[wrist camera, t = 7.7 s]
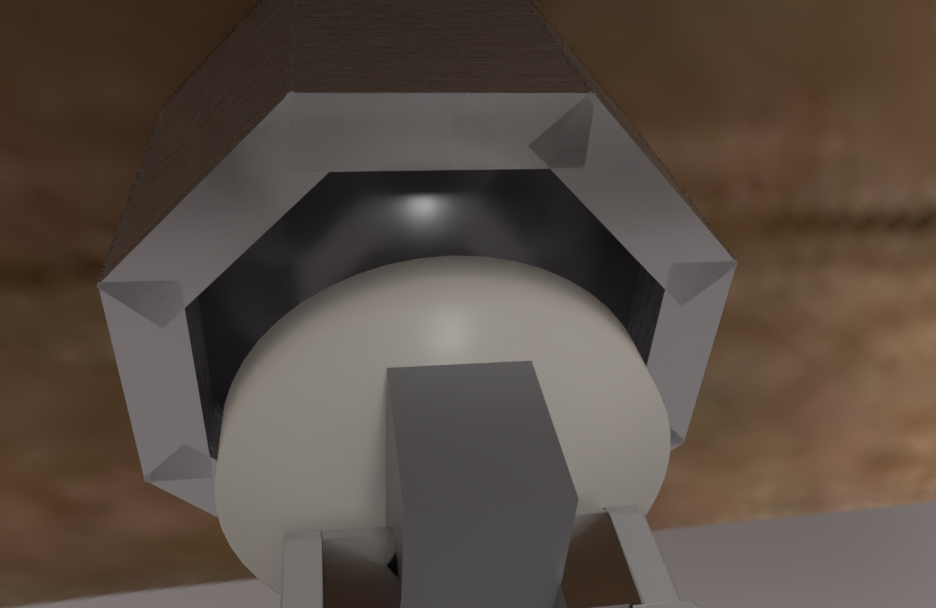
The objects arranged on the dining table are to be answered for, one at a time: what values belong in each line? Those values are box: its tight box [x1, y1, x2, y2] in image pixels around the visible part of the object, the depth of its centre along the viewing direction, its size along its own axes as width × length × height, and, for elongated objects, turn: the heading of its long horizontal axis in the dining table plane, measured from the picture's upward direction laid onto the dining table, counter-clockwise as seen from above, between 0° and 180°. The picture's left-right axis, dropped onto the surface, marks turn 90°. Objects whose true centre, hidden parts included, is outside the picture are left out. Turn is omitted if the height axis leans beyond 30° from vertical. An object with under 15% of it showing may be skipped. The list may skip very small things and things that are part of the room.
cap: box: [214, 255, 671, 608], centre depth 12 cm, size 7×7×4 cm
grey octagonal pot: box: [96, 0, 738, 517], centre depth 17 cm, size 10×10×7 cm
